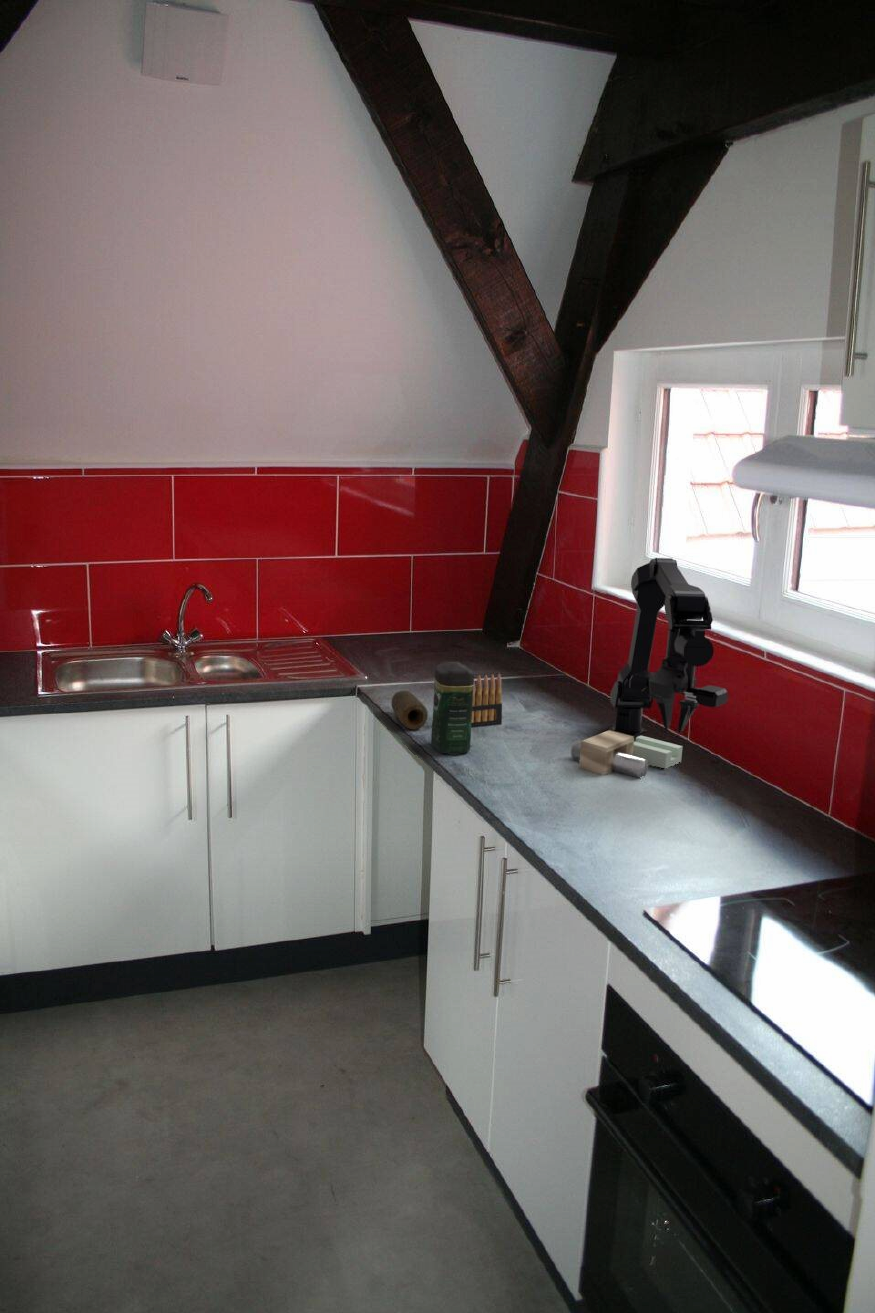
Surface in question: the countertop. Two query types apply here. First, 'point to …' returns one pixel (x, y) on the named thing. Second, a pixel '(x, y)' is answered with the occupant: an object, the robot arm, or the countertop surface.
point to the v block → (657, 752)
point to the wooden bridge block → (604, 750)
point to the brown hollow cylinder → (409, 710)
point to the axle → (619, 762)
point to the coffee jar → (452, 708)
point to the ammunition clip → (487, 703)
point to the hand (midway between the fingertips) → (673, 730)
